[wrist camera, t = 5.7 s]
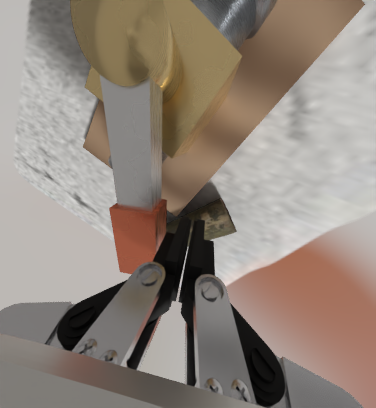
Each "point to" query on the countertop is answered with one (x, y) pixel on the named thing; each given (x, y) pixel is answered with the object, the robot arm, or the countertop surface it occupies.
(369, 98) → the countertop surface
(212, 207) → the olive brown elongated lump
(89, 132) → the mounting board
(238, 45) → the pipe and valve
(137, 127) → the valve lever
